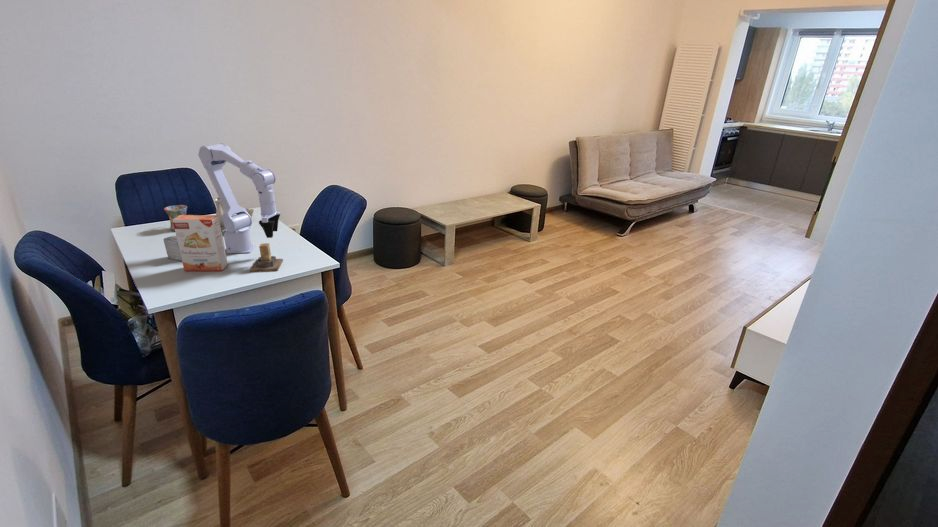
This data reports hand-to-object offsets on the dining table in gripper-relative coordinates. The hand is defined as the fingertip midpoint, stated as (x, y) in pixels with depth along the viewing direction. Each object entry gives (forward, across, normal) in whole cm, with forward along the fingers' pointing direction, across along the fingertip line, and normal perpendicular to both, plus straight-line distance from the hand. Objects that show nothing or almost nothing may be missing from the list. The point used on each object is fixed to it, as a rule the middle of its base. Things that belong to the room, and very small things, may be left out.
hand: (272, 234), depth 182 cm
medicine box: (+10, +2, +37) cm, 39 cm away
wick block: (+9, -10, +1) cm, 13 cm away
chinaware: (+11, +42, +30) cm, 53 cm away
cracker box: (+10, -10, +23) cm, 27 cm away
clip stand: (+10, -10, +1) cm, 14 cm away
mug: (+11, +41, +53) cm, 68 cm away
